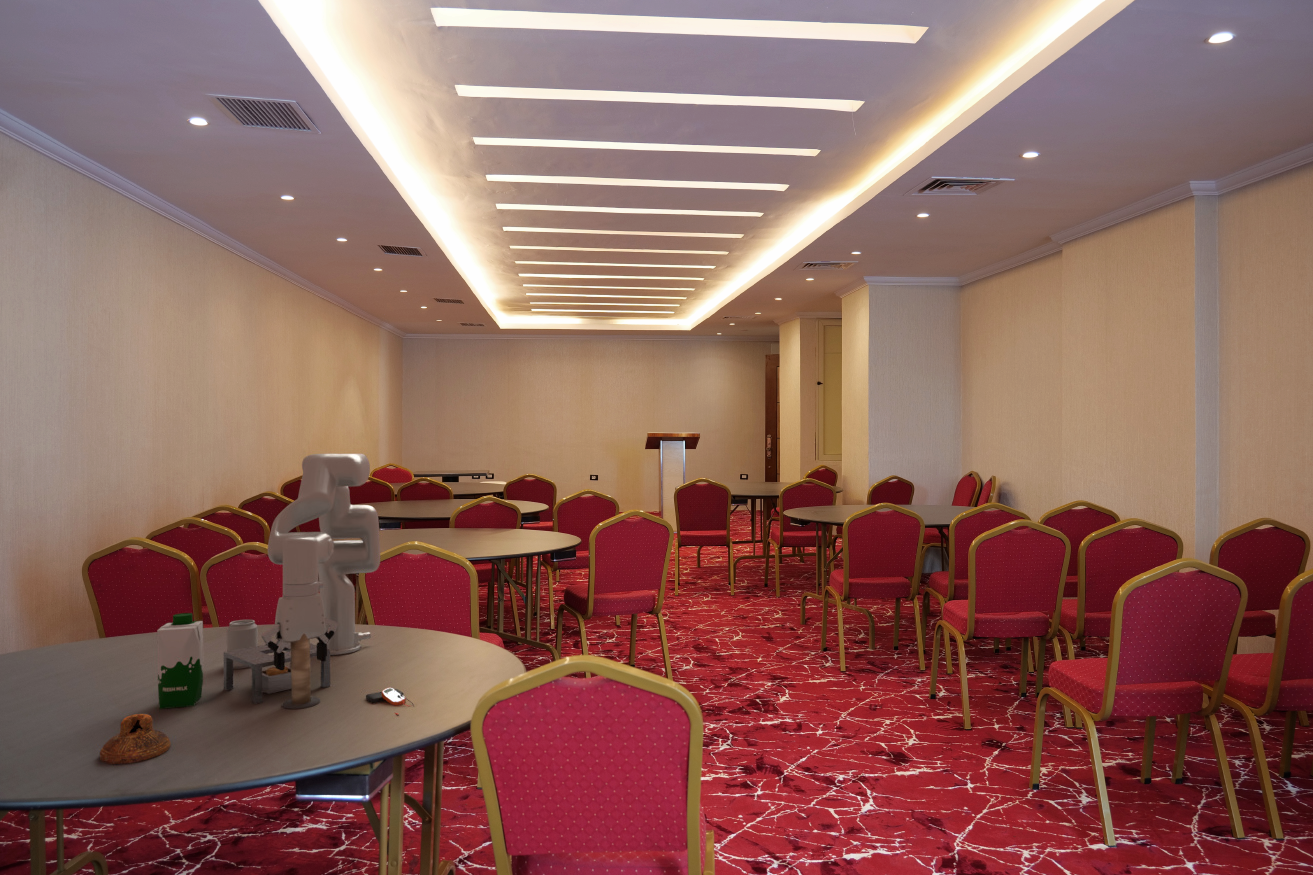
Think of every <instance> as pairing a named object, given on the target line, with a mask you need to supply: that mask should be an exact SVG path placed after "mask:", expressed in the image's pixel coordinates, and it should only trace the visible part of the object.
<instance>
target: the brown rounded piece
mask: <svg viewBox="0 0 1313 875" xmlns="http://www.w3.org/2000/svg"><path fill="white" fill-rule="evenodd" d="M153 721H154V720H153V717H152V716H151V715H150V714H148V713H147V714H145V713H136V714H130V715H128V716H126V717H124V718H123V719H122V721H121V722H120V725H119V726H120V727H119V728H120V729H119V733H118V734H116V735H114V736H112V737H111V738H109V739H108V740H107V741H106V742H105V743H104V744H103V745H102V747H101V749H100V752H99V760H100V762H102V763H104V764H109V765H121V764H134V763H138V762H143V761H146V760H149V759H153V758H155V757H159V756H160V755H162V754H164V753H166V752H167V751H168V750H169V749H170V747H171V745H172V744H171V743H172V742H171V740H170V738H169V736H168V735H167V734H166V733H164V732H162V731H160V730H157V729H154V727H153V724H154V722H153Z"/></svg>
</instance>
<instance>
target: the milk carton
mask: <svg viewBox="0 0 1313 875" xmlns="http://www.w3.org/2000/svg"><path fill="white" fill-rule="evenodd" d="M203 623H204V622H203V620H198V621H197V620H194V621H193V613H192V612H182V613H176V614H173V615H172V622H167V623H165V624H164V625H162V626H160V627H159V628H158V629H157V632H156V633H157V688H158V689H157V690H158V705H159V710H161V709H171V708H172V709H173V708H184V707H194V706H195V705H196V703H198V701H199V700H200V699H202V694H203V683H204V624H203Z"/></svg>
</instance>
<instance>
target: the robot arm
mask: <svg viewBox="0 0 1313 875" xmlns="http://www.w3.org/2000/svg"><path fill="white" fill-rule="evenodd" d="M301 469H302V476H301V479H300V480H301V482H300V486H299V491H298V497H297V499H295V500H294V501H292V502H291V503H289V504H288V505H287V506H286V507H285V508H284V509H282V510H281V511H280V513H278V515H277V516H276V517H275V518H274V520H273V522H272V525H271V530H270V532H269V538H268V543H267V556H268V558H269V560H270V562H272V563H273V564H275V565H282V597H280V596H279V598H278V601H277V606H276V611H275V620H274V621H275V622H274V625H273V626H272V627H271V628H269V629H268V630H266V631H265V632H264V633H261V638H262V640H263V642H264V643H265V644H266V646H268V647H269V648H270V649H271V650H272V651H274V653H273V655H274V665H273V667H276V669H279V670H284V669H285V666H286V665H285V664H286V663H285V653H284V652H285V651H282V650H283V649H284V647H285V646H286V645H287V643H290V642H296V641H298V640H300V638H301V636H302V635H303V634H305V635H306V636H307V638H308V639H309V640H310V639H312V640H313V639H317V641H318V642H316V645H317V657H316V660H318V661H320V662H321V661H323V662H324V661H326V656H327V649H329V650H330V656H335V655H336V656H337V655H345V654H350V653H351V654H352V653H354V652H357V651H359V650H360V649H361V644H362V643H360V642H361V641H362V640H370V639H371V637H372V635H371V632H370V631H367V632H363V633H362V632H358V631H356V606H355V604H356V602H355V601H356V600H355V599H356V598H355V597H356V596H355V595H356V593H355V592H356V590H355V586H354V584H353V582H352V581H351V579H349V577H347V575H349V574H365V573H373V572H376V571H377V570H378V569H379V567H380V565H381V544H380V543H381V542H380V538H381V537H380V523H379V516H378V512H377V509H376V508H375V507H373V506H372V505H368V504H351V497H350V493H351V492H350V488H349V487H361V486H362V485H364V484H366V482H367V481H368V479H369V477H370V473H371V465H370V461H369V458H368V457H367V456H366V455H365V454H364V453H313V454H310V455H307V456H305V457H304V458H303V460H302V462H301ZM315 519H318V522H319V530H320V531H307V532H306V531H298V532H297V531H296V532H290V531H292V530H293V529H294V528H296V527H298V526H300V525H302V524H306V523H308V522H310V521H314V520H315ZM333 539H334V540H333ZM335 539H336V540H335ZM338 539H343V540H338ZM344 539H345V540H344ZM346 539H355V540H346ZM358 539H359V540H358ZM272 637H274V638H275V640H276V641H275V642H274V641H273V639H272Z"/></svg>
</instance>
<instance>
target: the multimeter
mask: <svg viewBox="0 0 1313 875" xmlns="http://www.w3.org/2000/svg"><path fill="white" fill-rule="evenodd" d="M366 699H367V700H366ZM365 700H366V701H368V702H370V704H372V705H373V704H378V703H383V702H387V703H388V704H390V705H392V706H401V705H405V706H406V707H409V705H407V704H406V701H408V702H410V704H412V707H415V705H414V703H413V702H412V701H410V699H408V698H407V697H406V696H404V692H402V691H401V690H399V689H398V688H393V687H386V688H384V689H383V690H382V691H377V692H373V693H367V694H366V695H365ZM394 714H395V716H400V714H399V713H398V712H394Z"/></svg>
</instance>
